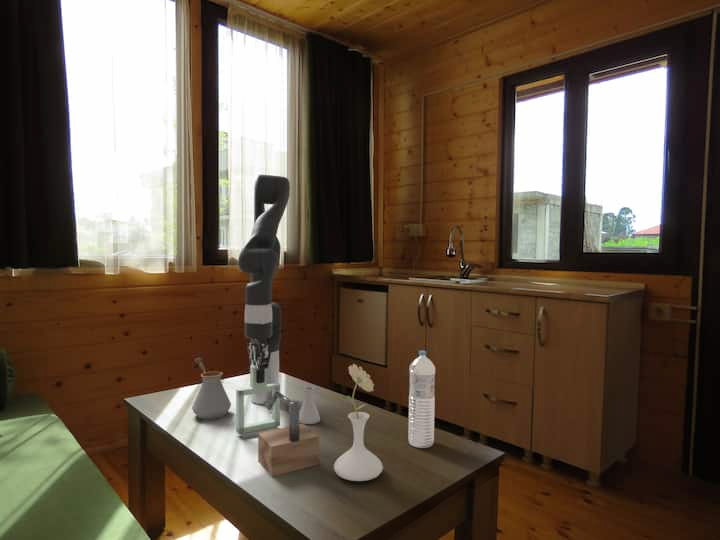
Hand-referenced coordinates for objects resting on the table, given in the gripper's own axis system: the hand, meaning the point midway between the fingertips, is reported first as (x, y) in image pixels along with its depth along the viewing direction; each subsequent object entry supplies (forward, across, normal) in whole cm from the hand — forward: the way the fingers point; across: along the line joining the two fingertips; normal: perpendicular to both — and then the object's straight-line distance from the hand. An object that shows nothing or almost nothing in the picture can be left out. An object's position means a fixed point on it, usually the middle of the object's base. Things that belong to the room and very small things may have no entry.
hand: (258, 381), depth 131 cm
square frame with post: (+15, 0, 0) cm, 15 cm away
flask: (+15, -1, +16) cm, 22 cm away
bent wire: (+8, +16, 0) cm, 18 cm away
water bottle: (+15, +29, +35) cm, 48 cm away
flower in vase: (+15, +34, +12) cm, 39 cm away
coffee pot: (+15, -25, -8) cm, 30 cm away
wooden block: (+15, +22, 0) cm, 26 cm away
